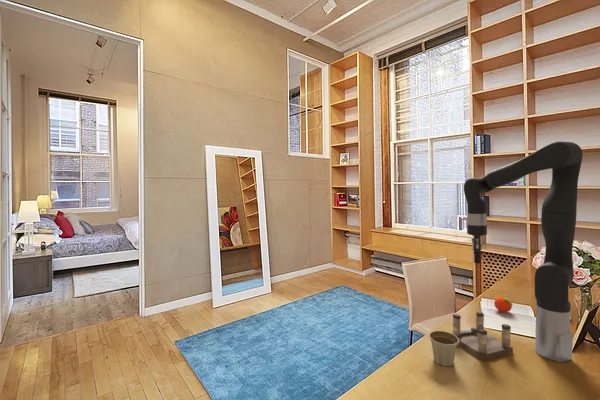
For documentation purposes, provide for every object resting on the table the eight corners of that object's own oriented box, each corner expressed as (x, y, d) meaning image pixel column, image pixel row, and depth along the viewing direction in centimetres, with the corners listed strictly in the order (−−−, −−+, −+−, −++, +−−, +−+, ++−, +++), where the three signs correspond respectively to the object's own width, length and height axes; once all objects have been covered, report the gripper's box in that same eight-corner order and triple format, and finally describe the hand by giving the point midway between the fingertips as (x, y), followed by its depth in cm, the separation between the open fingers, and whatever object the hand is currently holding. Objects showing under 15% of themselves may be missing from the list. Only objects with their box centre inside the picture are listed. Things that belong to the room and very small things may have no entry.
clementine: (517, 314, 139) (518, 299, 138) (507, 316, 136) (507, 301, 136) (500, 307, 146) (501, 293, 146) (490, 310, 144) (490, 295, 143)
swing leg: (473, 329, 120) (473, 311, 120) (478, 333, 118) (479, 314, 117) (451, 333, 118) (451, 314, 118) (456, 336, 115) (456, 317, 115)
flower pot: (446, 373, 98) (447, 347, 97) (423, 358, 106) (423, 334, 106) (464, 364, 102) (465, 339, 102) (440, 350, 111) (440, 328, 110)
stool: (512, 352, 108) (513, 327, 108) (482, 360, 104) (482, 333, 104) (478, 334, 122) (479, 311, 121) (450, 340, 118) (450, 316, 117)
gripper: (487, 225, 123) (488, 267, 123) (486, 222, 134) (486, 260, 135) (467, 225, 126) (467, 265, 127) (466, 221, 138) (467, 258, 139)
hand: (477, 262), depth 131 cm, fingers closed
